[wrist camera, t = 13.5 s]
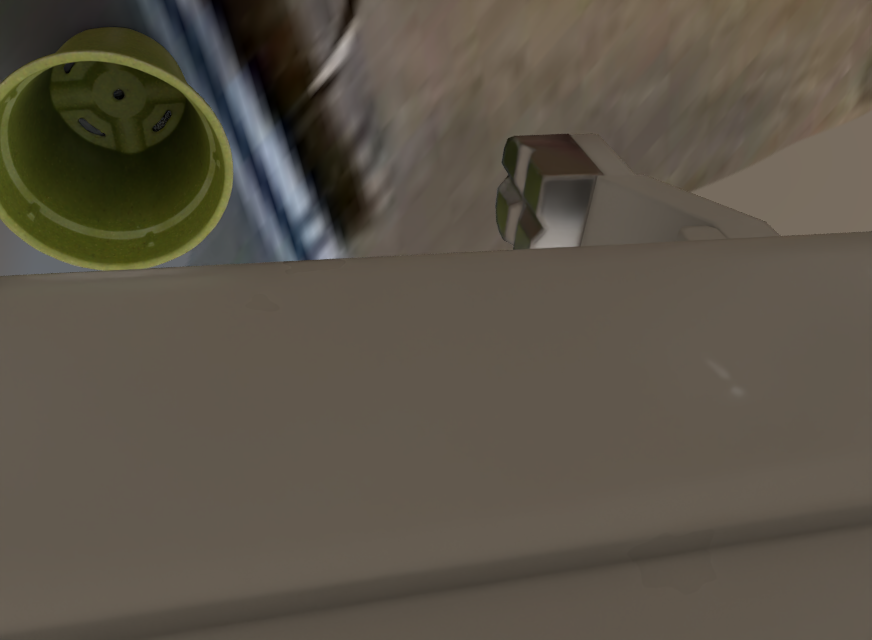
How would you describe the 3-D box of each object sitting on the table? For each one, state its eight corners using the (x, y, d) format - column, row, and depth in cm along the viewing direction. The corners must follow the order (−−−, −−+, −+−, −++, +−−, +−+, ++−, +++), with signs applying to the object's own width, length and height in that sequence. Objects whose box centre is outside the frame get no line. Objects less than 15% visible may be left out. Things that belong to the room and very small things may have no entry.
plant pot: (79, -63, 34) (55, -4, 28) (262, 73, 40) (279, 149, 33) (-30, 105, 37) (-75, 195, 31) (154, 210, 42) (150, 306, 36)
